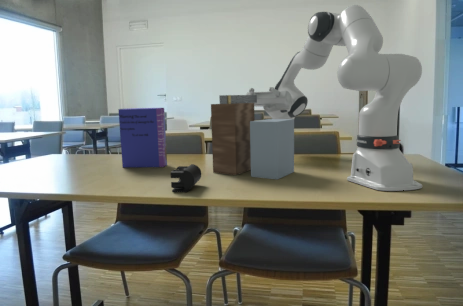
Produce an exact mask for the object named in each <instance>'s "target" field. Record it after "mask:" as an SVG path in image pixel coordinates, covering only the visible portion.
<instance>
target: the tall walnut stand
mask: <svg viewBox="0 0 463 306" xmlns="http://www.w3.org/2000/svg"><path fill="white" fill-rule="evenodd" d="M210 116H211V117H210V119H211V144H212V145H211V148H212V152H211V153H212V172H213V174H224V175H231V176H237V175H240V174H243V173H246V172H248V171H251V151H250V121H256V120H255V106H254V103H236V104H220V103H211V104H210Z"/></svg>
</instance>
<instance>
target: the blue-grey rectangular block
mask: <svg viewBox="0 0 463 306" xmlns="http://www.w3.org/2000/svg"><path fill="white" fill-rule="evenodd" d="M250 151H251V170H250V177H251V178H261V179H269V180H279V179H281V178H283V177H286V176H288V175H290V174H293V173H294V172H295V118H294V119H272V118H267V119H266V118H265V119H260V120H258V119H257V120H255V121H250Z"/></svg>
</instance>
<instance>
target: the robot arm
mask: <svg viewBox="0 0 463 306" xmlns="http://www.w3.org/2000/svg"><path fill="white" fill-rule="evenodd" d="M307 34H308V36H307V38H306V40H305V41H304V45H303V47H302V49H301V50H300V51H297V52H296V53H295V54H294V55H293V56H292V58H291V59H290V62H289V64H288V65H287V67H286V69H285V71H284V72H283V74H282V76H281V78H280V79H279V81H278V82H277V83H276V84H275V85H274V86H275V87H274V86H273V87H271V86H270V87H269V89H268V91H255V88H253V87H251V88H250V87H249V90H248V92H247V93H246V94H245V95H257V103H254V108H255V107H256V108H257V107H262V109H263V110H264V111H265V112H266V113H267V115H268V116H269V117H270V119H294V120H295V118H296V117H297V116H299V115H301V114H302V113H303V112H304V111H305V110H306V108H307V106H308V102H309V101H308V100H309V99H308V97H307V96H306V95H305V94H304V93H303V92H302V91H301V90H300V89H299V88H298V87H297V86H296V85H295V79H296V77H298V74H299V72H300V71H301V70H302V69H304V70H312V71H313V70H318V69H321V68H322V67H323V66H324V65H325V64H326V62H327V61H328V59H329V56H330V54H331V52H332V49H333V46H337V47H346V50H347V53H348V55H347V56H346V57H344V58H343V59H342V60H341V61H340V63H339V65H338V68H337V70H336V71H337V72H336V74H337V80H338V83H339V84H340V86H341V87H342V88H343V89H347V90H350V91H356V92H357V91H358V92H365V91H366V92H370V91H371V92H373V91H375V95H374V96H373V99H372V100H371V102H368V103H367V104H365V105H364V106H363V107H361V108H360V111H359V113H358V134H357V135H356V146H357V149H356V150H355V152H353V154H352V159H351V160H352V161H351V170H350V175H348V176H347V177H346V180H347V181H349V182H352V183H355V184H357V185H361V186H363V187H367V188H370V189H373V190H377V191H384V192H387V191H388V192H396V191H397V192H398V191H399V192H401V191H403V190H404V191H414V190H415V191H416V190H419V189H422V188H423V184H422V183H421V182H418V181H416V180H414V168H413V163H412V162H410V161H409V160H408V159H407V158H406V156H405V155H404V153H403V152H402V151H401V150H400V144H401V141H402V140H401V139H399V136H398V135H397V128H398V127H397V126H398V117H399V115H398V114H399V109H400V107H401V103H402V102H403V100H404V98H405V96H406V95H407V93H408V92H409V91H410V90H411V89H412V88H413V87H415V86H416V85H417V84H418V83H419V81H420V79H421V77H422V73H423V67H422V64H421V61H420V60H419V59H418V57H416V56H414V55H409V54H404V53H379V52H380V51H381V49H382V48H383V43H384V36H383V35H382V33H381V31H380V29H379V27H378V25H377V24H376V21H375V20H374V19H373V16H371V14H370V13H369V12H368V11H367V10H366V8H364V7H363V6H361V5H358V4H352V5H348V6H347V7H346V8H344V9H343V10H342V11H341V12H340V13H337V12H329V11H318V12H316V13H314V14H313V15H312V16H311V18H310V19H309V22H308V26H307Z"/></svg>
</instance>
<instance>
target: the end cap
mask: <svg viewBox="0 0 463 306" xmlns="http://www.w3.org/2000/svg"><path fill="white" fill-rule="evenodd" d="M170 178H171V179H178V181H171V182H170V184H171V185H170V186H171V188H172V189H171V192H172V193H187V192H188V191H190V190H191V189H193V187H194V186H196V184H197V183H198V182H199V181H200V180H201V178H202V170H201V168H200V167H199V166H198V165H196V164H189V166H186V165H184V166H183V165H182V166H181V165H179V166H177V167H176V169H173V170H171V171H170Z"/></svg>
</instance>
